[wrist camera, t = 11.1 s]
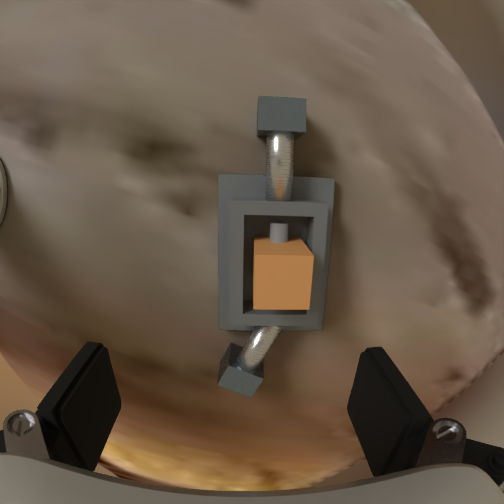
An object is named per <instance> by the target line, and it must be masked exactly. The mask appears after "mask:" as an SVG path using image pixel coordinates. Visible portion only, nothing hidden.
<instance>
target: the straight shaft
mask: <svg viewBox="0 0 504 504" xmlns="http://www.w3.org/2000/svg"><path fill="white" fill-rule="evenodd" d="M304 133H306V99H303V98H289V97H270V96H259V98H258V109H257V137H267V145H266V186H265V200H267V201H280V202H289V201H292V198H293V167H294V138H299V137H300V136H302V135H303V134H304Z"/></svg>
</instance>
